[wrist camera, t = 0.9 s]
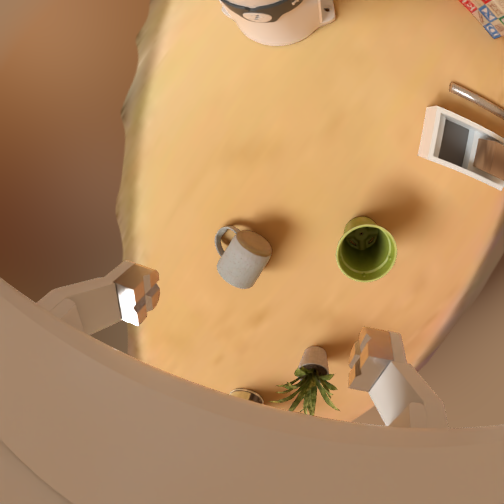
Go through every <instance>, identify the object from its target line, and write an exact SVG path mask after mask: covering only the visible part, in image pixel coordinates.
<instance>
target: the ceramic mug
mask: <svg viewBox="0 0 504 504" xmlns="http://www.w3.org/2000/svg"><path fill="white" fill-rule="evenodd" d="M227 229H231V230H232V231H234V232H235V233H236V235H235V236H234V238H233V239H232V241H231V242H230V244H229V246H228V247H227V249H226V250H225V252H224V250H223V248H222V246H221V237H222V236H223V234H224V233H225V232H226V231H227ZM215 246H216V249H217V251H218V253H219V255H220V256H221V258H220V260H219V261H218V264H217V270H218V272H219V274H220V275H221V277H222V278H223V279H224V280H225V281H226V282H228V283H229V284H231V285H233V286H235V287H238V288H242V289H247V288H250V287H252V286H253V285H254V283H255V282H256V280H257V278H258V277H259V275H260V274H261V272H262V270H263V269H264V267H265V266H266V264H267V263H268V261H269V259H270V257H271V254H272V248H271V246H270V244H269V242H268V241H267V240H266V239H265V238H263V237H262V236H261V235H259V234H257V233H255V232H253V231H249V230H243V231H240V230H239V229H238V228H236V227H234V226H225V227H222V228H221V229H220V230H219V231H218V232H217V234H216V236H215Z"/></svg>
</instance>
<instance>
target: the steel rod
mask: <svg viewBox="0 0 504 504" xmlns="http://www.w3.org/2000/svg"><path fill="white" fill-rule="evenodd" d="M449 91H450V92H452V93H454V94H456V95H458V96H461V97H463V98H465V99H467V100H469V101H471V102H473V103H475V104H477V105H479V106H481V107H482V108H484V109H486V110H488V111H490V112H492V113H493V114H495V115H497V116H498V117H500V118H502V119H504V110H503V109H502V108H500V107H498V106H497V105H495V104H493V103H492V102H490V101H488V100H486V99H484V98H483V97H481V96H479V95H477V94H475V93H473V92H471V91H469V90H467V89H465V88H463V87H461V86H459V85H457V84H455V83H452V82H451V83H450V86H449Z"/></svg>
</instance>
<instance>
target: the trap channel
mask: <svg viewBox="0 0 504 504" xmlns="http://www.w3.org/2000/svg"><path fill="white" fill-rule="evenodd" d="M479 138H480V139H485V140H490V141H495V142H498V143H500V144H501V145H503V146H504V138H502V137H501V136H499V135H497V134H495V133H494V132H492V131H490V130H488V129H486V128H484V127H482V126H480V125H479V124H477V123H475V122H473V121H470V120H468V119H466V118H464V117H462V116H460V115H458V114H455V113H453V112H451V111H449V110H446V109H444V108H442V107H439V106H431V107H426V114H425V120H424V126H423V131H422V136H421V141H420V146H419V151H418V156H420V157H422V158H425V159H427V160H430V161H433V162H436V163H438V164H441V165H444V166H446V167H449V168H451V169H454V170H456V171H459V172H461V173H463V174H466V175H468V176H470V177H473V178H475V179H477V180H479V181H482V182H484V183H486V184H488V185H490V186H492V187H494V188H496V189H498V190H500V191H502V188H503V187H504V181H503V180H501V179H499V178H497V177H495V176H492V175H490V174H488V173H486V172H484V171H482V170H480V169H478V168H476V167H474V166H473V163H474V159H475V154H476V149H477V144H478V139H479Z"/></svg>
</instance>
